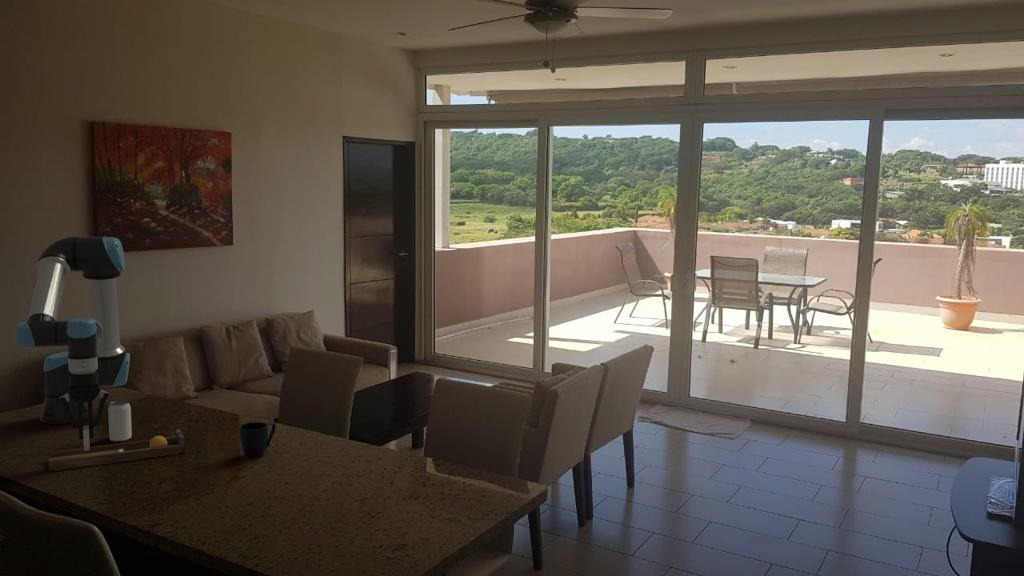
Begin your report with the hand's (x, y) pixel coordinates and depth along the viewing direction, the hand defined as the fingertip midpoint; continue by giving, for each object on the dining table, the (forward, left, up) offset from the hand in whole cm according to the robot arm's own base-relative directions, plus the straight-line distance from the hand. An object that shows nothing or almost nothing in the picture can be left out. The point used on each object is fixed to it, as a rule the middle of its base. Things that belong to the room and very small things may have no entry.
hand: (86, 449), depth 233 cm
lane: (0, +8, -4) cm, 9 cm away
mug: (+16, +46, -4) cm, 49 cm away
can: (-19, +10, -4) cm, 22 cm away
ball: (+1, +19, -1) cm, 19 cm away
